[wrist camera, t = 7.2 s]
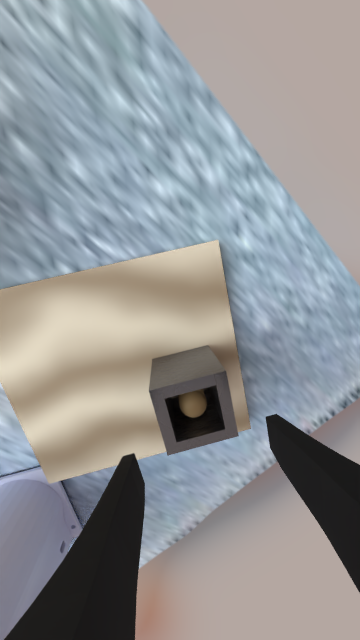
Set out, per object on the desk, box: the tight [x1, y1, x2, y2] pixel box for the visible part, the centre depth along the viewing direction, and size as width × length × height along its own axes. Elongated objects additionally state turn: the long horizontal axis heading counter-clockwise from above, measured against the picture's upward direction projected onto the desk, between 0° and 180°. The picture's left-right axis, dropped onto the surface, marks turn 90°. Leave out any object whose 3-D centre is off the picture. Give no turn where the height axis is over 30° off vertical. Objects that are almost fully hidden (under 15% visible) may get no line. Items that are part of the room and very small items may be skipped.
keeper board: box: [0, 240, 251, 484], centre depth 16 cm, size 18×20×6 cm
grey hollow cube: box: [149, 345, 238, 455], centre depth 15 cm, size 5×5×5 cm
